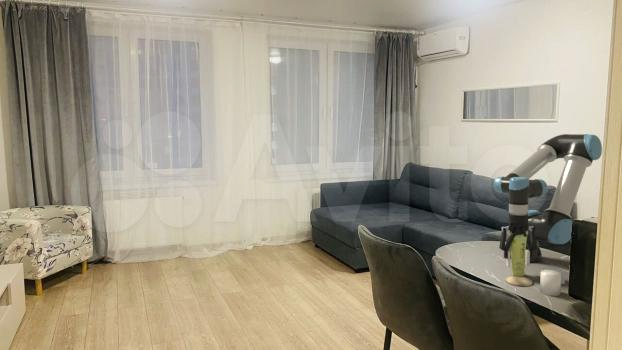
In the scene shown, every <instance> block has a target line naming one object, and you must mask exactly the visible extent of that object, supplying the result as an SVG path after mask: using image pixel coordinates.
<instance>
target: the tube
mask: <svg viewBox="0 0 622 350" xmlns="http://www.w3.org/2000/svg"><path fill="white" fill-rule="evenodd" d="M511 234H512V233H511V231H510V230H508V237H509V236H510V235H511ZM526 234H528V231H526ZM526 241H527V236H526V237H524V235H523V234H522V235H516V236H515V238H514V239H513V241H512V244H511V259H510V264H511V276H520V277H524V276H525V269H526V268H525V267H526V265H525V251H526Z"/></svg>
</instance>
